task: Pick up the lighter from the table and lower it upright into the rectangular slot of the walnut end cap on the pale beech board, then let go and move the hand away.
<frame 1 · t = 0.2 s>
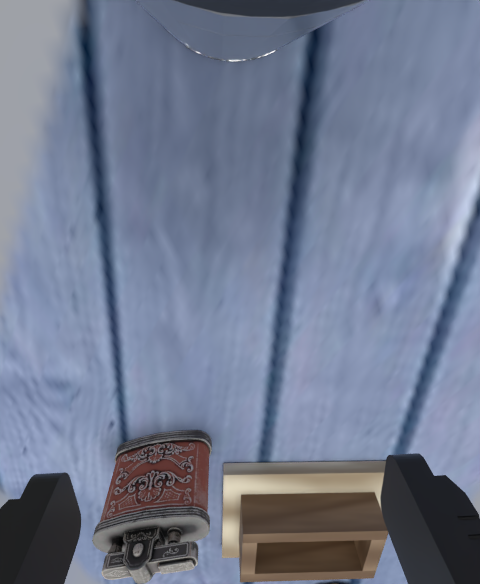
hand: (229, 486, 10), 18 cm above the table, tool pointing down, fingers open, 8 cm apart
end cap: (302, 505, 38), on the table
lighter: (164, 445, 34), on the table
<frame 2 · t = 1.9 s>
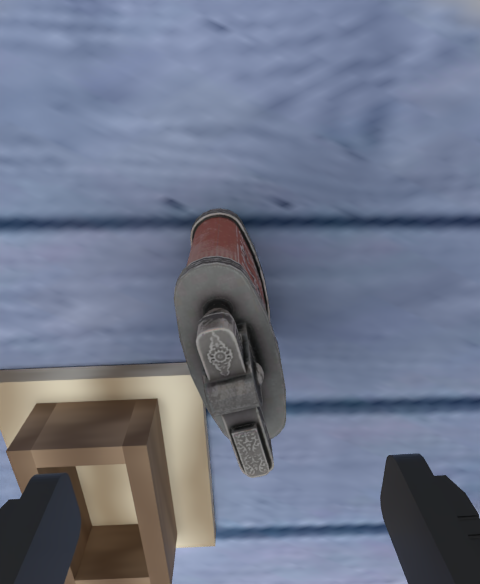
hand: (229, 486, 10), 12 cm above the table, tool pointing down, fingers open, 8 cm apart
end cap: (118, 459, 27), on the table
lighter: (232, 280, 22), on the table
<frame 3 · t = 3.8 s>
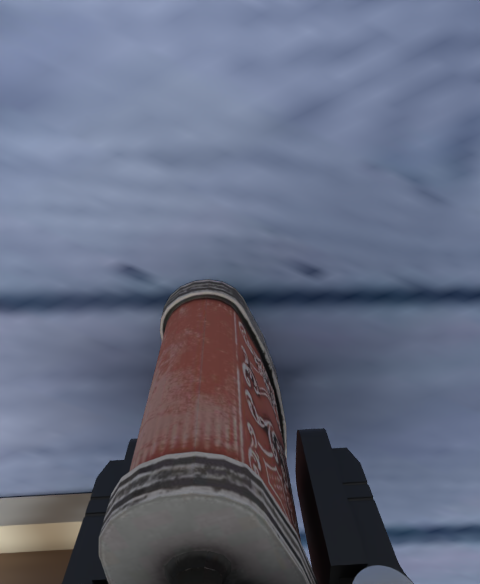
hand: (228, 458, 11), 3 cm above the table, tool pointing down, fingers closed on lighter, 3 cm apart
lighter: (228, 380, 14), on the table, touching gripper
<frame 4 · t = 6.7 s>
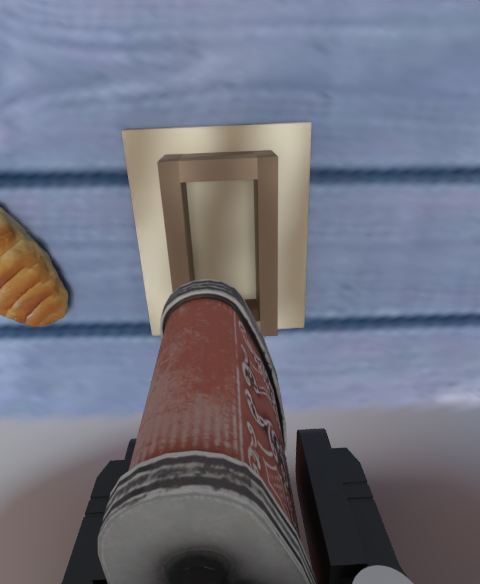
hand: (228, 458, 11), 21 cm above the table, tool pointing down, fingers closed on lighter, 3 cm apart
pastry: (13, 259, 31), on the table
end cap: (223, 235, 30), on the table
lighter: (228, 379, 14), point 17 cm above the table, touching gripper
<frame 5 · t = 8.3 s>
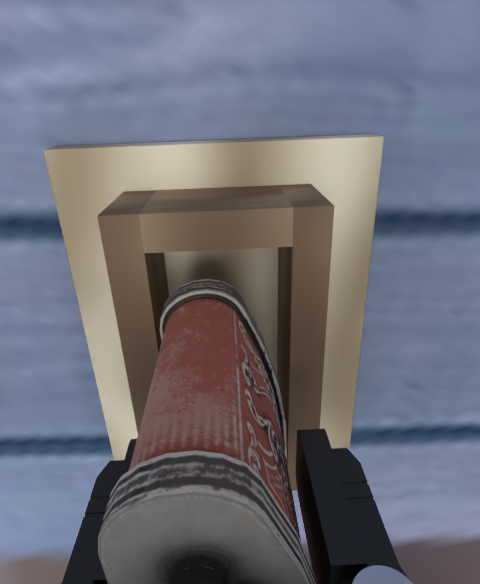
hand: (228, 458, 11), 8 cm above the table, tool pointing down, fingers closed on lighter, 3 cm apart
end cap: (225, 314, 19), on the table
lighter: (228, 379, 14), point 5 cm above the table, touching gripper
when the fingers open (6 cm above the table, at t = 9.5 s): lighter drops 1 cm, resting on end cap.
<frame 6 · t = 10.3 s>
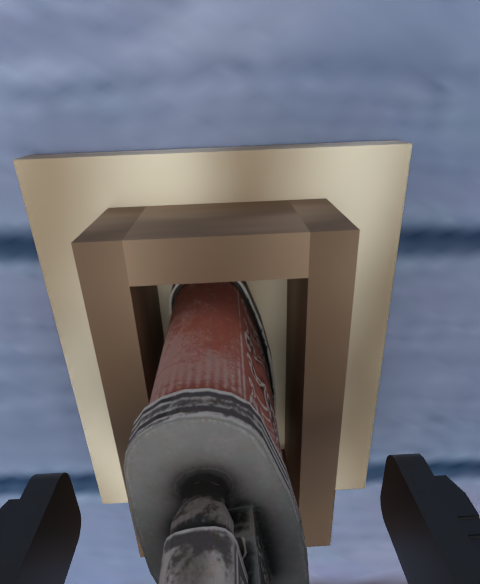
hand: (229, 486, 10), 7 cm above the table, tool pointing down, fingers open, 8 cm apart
end cap: (226, 342, 16), on the table
lighter: (226, 355, 16), point 1 cm above the table, touching end cap
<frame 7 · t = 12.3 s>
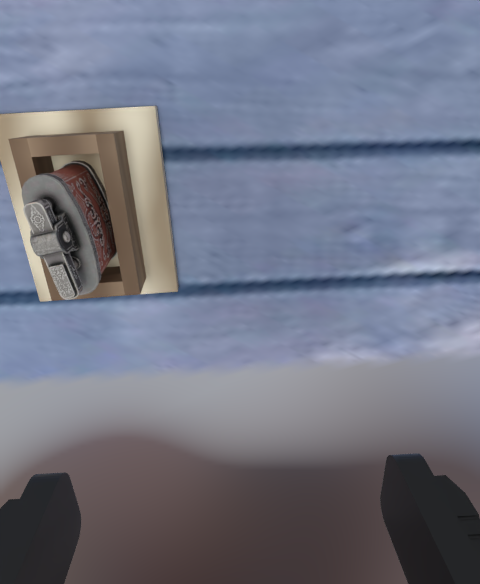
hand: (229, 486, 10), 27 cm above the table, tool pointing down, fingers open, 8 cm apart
end cap: (96, 208, 34), on the table
lighter: (92, 211, 33), point 1 cm above the table, touching end cap
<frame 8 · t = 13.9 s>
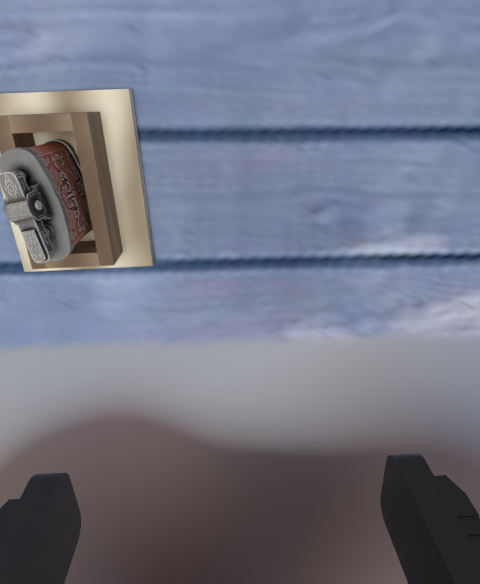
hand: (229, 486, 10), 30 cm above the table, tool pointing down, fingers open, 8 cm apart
end cap: (76, 185, 36), on the table
lighter: (72, 187, 35), point 1 cm above the table, touching end cap
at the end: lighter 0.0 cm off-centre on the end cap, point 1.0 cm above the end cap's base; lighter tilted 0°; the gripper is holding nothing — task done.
